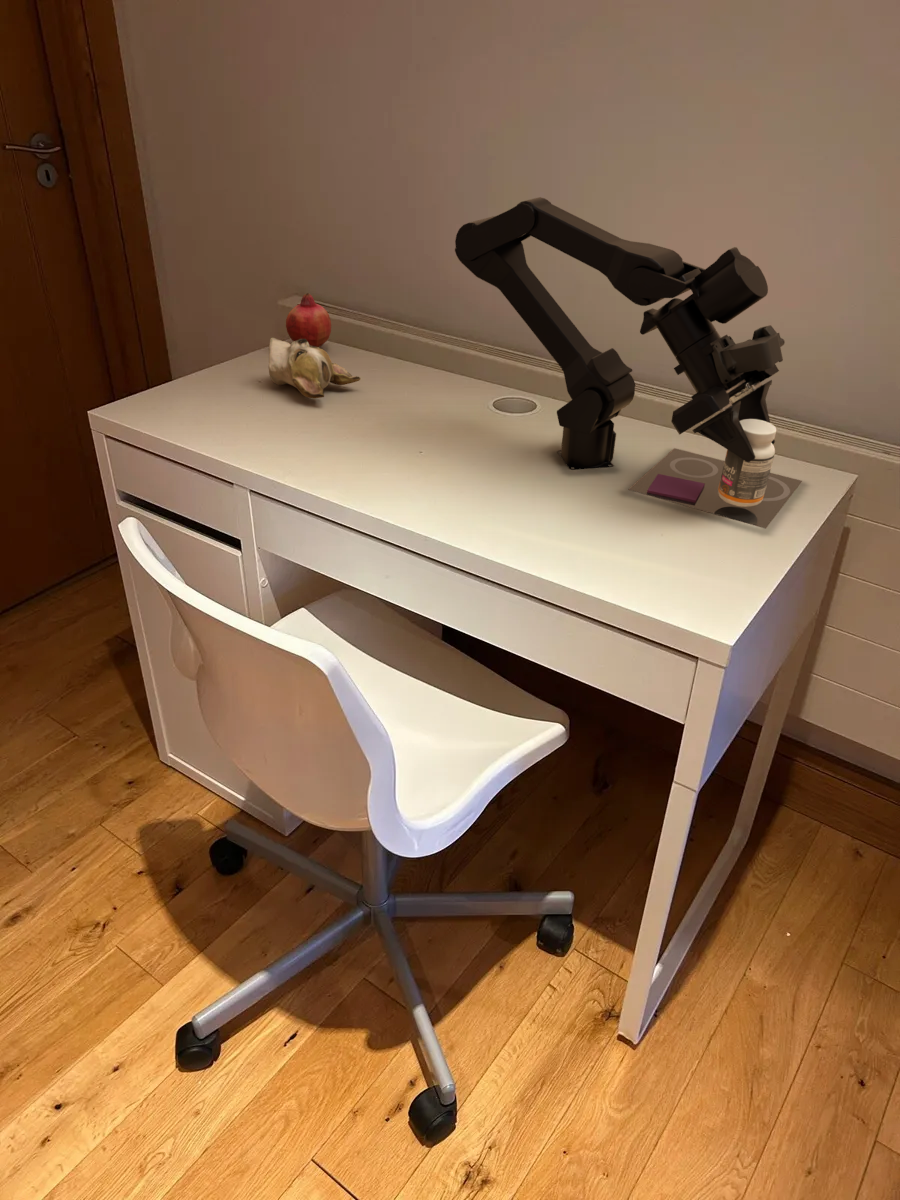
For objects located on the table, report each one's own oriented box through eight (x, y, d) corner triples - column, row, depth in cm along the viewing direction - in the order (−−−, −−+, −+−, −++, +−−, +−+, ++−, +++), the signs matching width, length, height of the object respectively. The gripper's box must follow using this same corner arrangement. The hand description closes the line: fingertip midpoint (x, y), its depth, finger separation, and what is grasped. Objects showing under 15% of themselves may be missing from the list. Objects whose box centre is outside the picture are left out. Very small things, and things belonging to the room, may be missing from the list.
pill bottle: (711, 488, 122) (726, 416, 116) (753, 488, 122) (770, 416, 117) (725, 508, 117) (741, 435, 112) (769, 508, 118) (788, 435, 112)
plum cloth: (695, 503, 121) (695, 500, 121) (646, 492, 123) (647, 490, 123) (704, 486, 125) (705, 483, 125) (657, 476, 127) (657, 473, 127)
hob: (764, 532, 116) (765, 528, 116) (627, 493, 124) (627, 489, 124) (801, 484, 128) (802, 480, 127) (673, 451, 136) (674, 447, 136)
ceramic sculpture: (292, 320, 155) (363, 343, 149) (294, 369, 160) (362, 394, 154) (247, 336, 148) (319, 361, 141) (250, 388, 153) (320, 414, 146)
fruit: (342, 349, 171) (339, 293, 165) (309, 359, 165) (306, 302, 160) (311, 339, 175) (308, 285, 170) (278, 349, 170) (274, 293, 164)
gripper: (715, 325, 103) (788, 446, 103) (780, 291, 115) (845, 400, 116) (640, 376, 111) (709, 488, 111) (709, 340, 123) (770, 441, 124)
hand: (761, 452), depth 115 cm, fingers closed on pill bottle, 6 cm apart
